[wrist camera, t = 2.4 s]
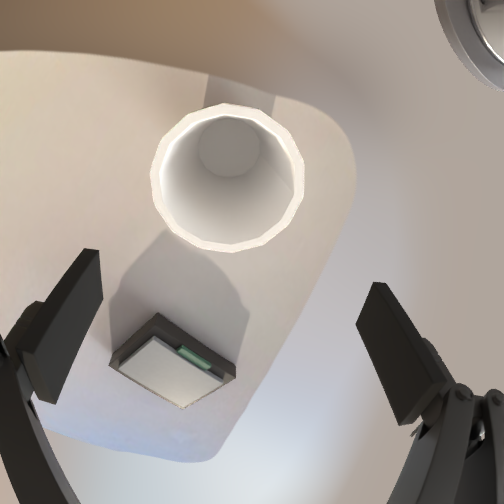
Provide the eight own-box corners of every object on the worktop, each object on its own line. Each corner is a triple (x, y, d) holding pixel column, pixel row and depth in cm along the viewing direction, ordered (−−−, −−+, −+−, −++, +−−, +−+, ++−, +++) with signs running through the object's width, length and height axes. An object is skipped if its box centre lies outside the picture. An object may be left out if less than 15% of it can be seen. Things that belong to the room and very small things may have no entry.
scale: (235, 365, 45) (236, 382, 42) (184, 397, 48) (182, 413, 45) (158, 312, 39) (153, 328, 36) (112, 354, 43) (107, 369, 40)
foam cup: (178, 103, 28) (143, 111, 16) (275, 98, 28) (304, 102, 17) (186, 195, 32) (162, 256, 21) (276, 190, 33) (301, 249, 21)
